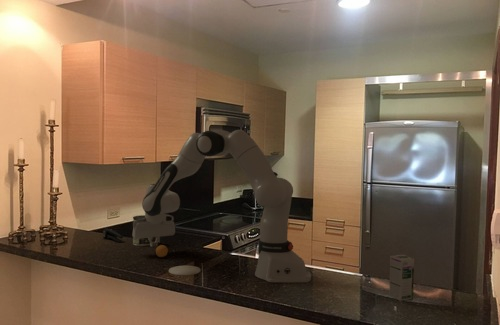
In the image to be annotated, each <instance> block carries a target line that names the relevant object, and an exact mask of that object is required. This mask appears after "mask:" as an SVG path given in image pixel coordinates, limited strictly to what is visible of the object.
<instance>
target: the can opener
mask: <svg viewBox="0 0 500 325" xmlns="http://www.w3.org/2000/svg"><path fill="white" fill-rule="evenodd" d="M102 238H104V239H106V240H110V239H112V241H114V242H115V243H119V244H121V243H123V240H121V239H123V238H124V236H123V235H121V233H118V232H117V231H115V230H113V229H110V228H104V229H103V236H102Z"/></svg>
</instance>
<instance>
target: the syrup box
mask: <svg viewBox="0 0 500 325" xmlns="http://www.w3.org/2000/svg"><path fill="white" fill-rule="evenodd" d="M414 278H415V258H414V257H412V256H410V255H406V254H397V255H390V256H389V290H388V291H389V292H388V293H389V294H388V295H389V297H391V298H393V299H395V300H398V301H400V302H403V301H408V300H413V299H414V282H415V280H414Z"/></svg>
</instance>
